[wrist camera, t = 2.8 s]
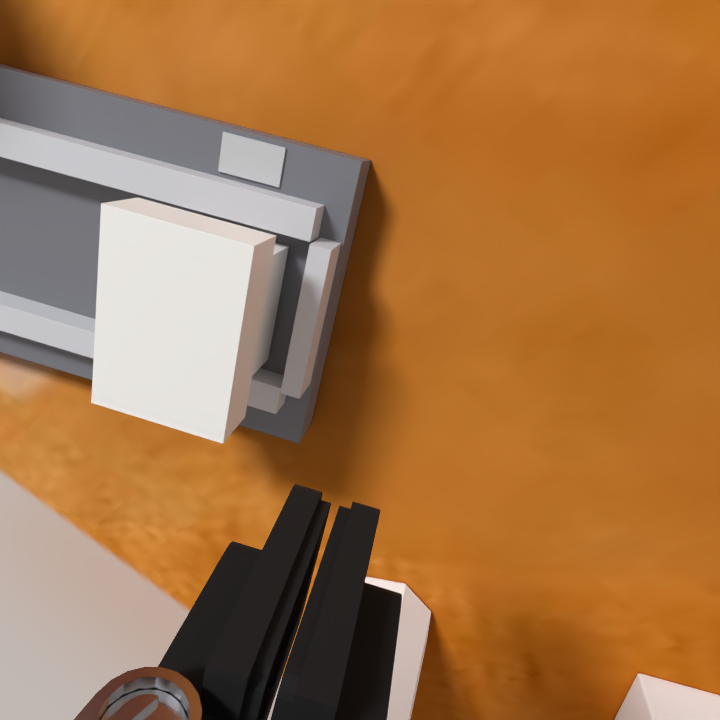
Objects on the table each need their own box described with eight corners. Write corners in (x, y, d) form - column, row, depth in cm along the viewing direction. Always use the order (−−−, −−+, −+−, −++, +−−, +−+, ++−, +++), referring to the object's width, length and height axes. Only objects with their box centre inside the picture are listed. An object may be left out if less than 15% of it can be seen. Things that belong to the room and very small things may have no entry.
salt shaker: (351, 658, 31) (293, 902, 21) (318, 581, 30) (240, 805, 20) (445, 649, 30) (432, 907, 20) (416, 567, 28) (386, 802, 18)
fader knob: (303, 223, 21) (254, 245, 16) (273, 383, 24) (222, 443, 19) (183, 190, 21) (101, 203, 17) (167, 351, 24) (91, 402, 19)
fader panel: (371, 160, 22) (353, 163, 18) (311, 423, 26) (288, 462, 23) (-213, 8, 24) (-323, -14, 21) (-174, 275, 29) (-258, 293, 25)
